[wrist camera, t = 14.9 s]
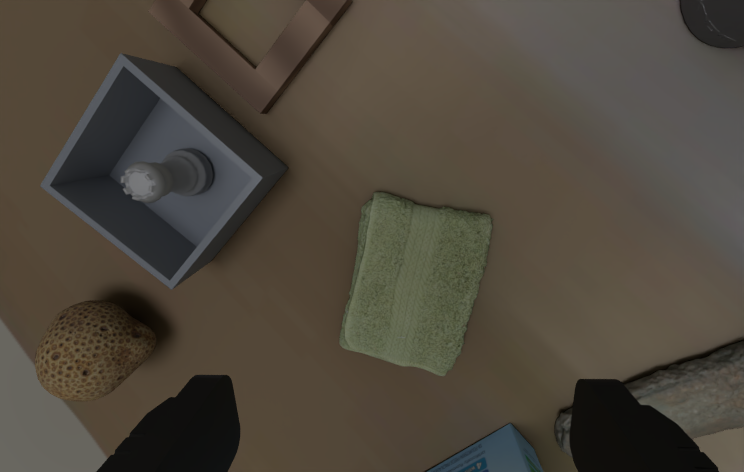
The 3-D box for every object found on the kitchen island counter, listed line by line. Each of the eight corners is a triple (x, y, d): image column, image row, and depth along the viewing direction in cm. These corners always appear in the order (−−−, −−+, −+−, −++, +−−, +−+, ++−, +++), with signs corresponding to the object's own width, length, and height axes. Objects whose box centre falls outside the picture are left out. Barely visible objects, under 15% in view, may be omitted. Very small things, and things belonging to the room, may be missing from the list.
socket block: (239, -113, 30) (230, -124, 28) (352, 2, 31) (349, -4, 30) (159, 16, 33) (148, 11, 31) (266, 113, 34) (260, 113, 33)
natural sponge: (75, 301, 42) (-21, 354, 32) (137, 271, 40) (56, 317, 31) (123, 366, 44) (46, 433, 34) (184, 339, 42) (121, 403, 33)
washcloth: (337, 342, 41) (332, 360, 38) (365, 186, 36) (362, 191, 33) (454, 366, 41) (458, 386, 38) (499, 212, 36) (509, 220, 33)
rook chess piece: (222, 187, 36) (174, 204, 29) (181, 199, 37) (124, 219, 29) (204, 141, 35) (149, 146, 27) (162, 155, 36) (97, 164, 28)
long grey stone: (532, 388, 43) (561, 448, 45) (548, 427, 38) (580, 491, 40) (912, 267, 34) (920, 350, 37) (996, 297, 29) (999, 390, 32)
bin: (176, 66, 34) (120, 53, 27) (288, 167, 36) (262, 177, 29) (104, 174, 37) (40, 186, 31) (210, 261, 39) (171, 289, 32)
